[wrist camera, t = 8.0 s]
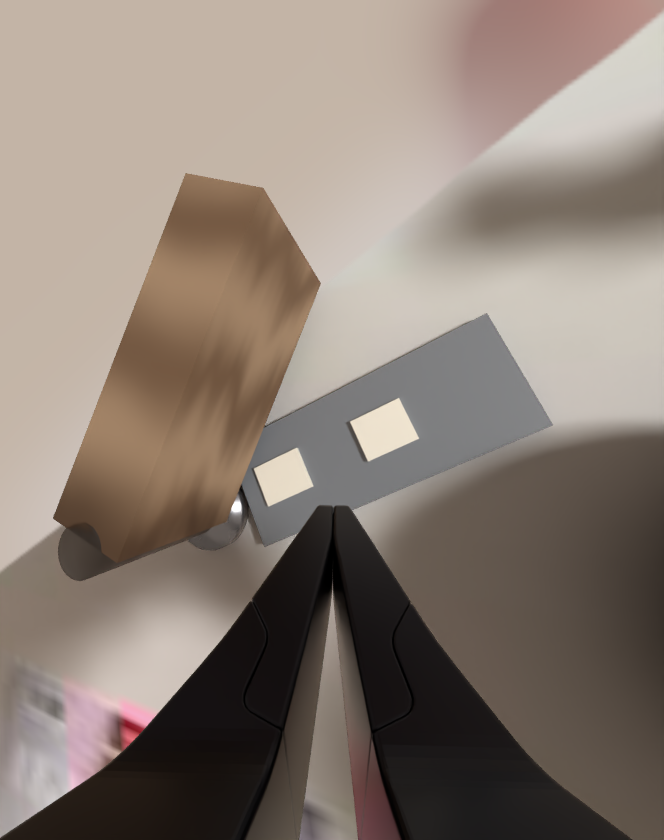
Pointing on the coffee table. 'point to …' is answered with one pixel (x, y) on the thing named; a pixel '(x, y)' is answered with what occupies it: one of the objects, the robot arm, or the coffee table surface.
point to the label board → (392, 429)
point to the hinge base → (225, 527)
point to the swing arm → (188, 380)
